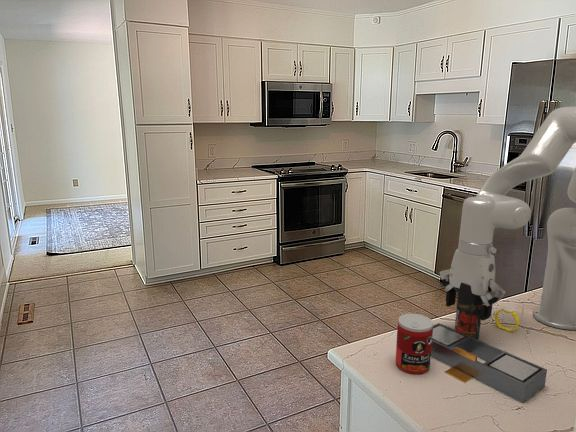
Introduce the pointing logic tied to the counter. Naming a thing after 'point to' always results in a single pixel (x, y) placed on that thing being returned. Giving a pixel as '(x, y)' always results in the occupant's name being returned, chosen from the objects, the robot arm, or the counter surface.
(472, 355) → the rack
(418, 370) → the canned food
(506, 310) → the watch
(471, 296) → the deodorant
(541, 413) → the counter surface
